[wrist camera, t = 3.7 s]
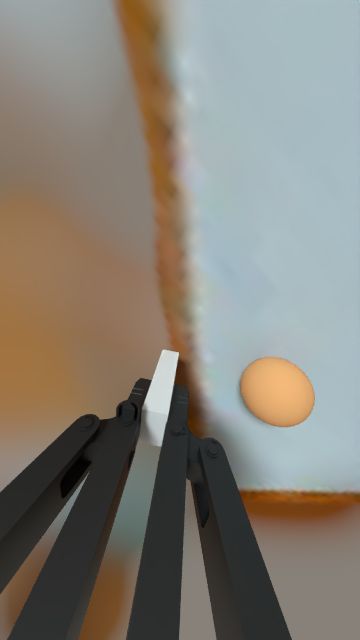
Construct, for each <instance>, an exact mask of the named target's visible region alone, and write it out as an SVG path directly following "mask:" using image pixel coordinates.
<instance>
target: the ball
mask: <svg viewBox="0 0 360 640" xmlns="http://www.w3.org/2000/svg"><path fill="white" fill-rule="evenodd" d="M240 387H241V394H242V397H243V400H244V402H245V404H246V405H247V407H248V408H249V410H250V411H251V412H252V413H253V414H254V415H255V416H256V417H257V418H259V419H260V420H262V421H263V422H265V423H268V424H270V425H273V426H278V427H291V426H295V425H298V424H300V423H302V422H303V421H304V420H306V419H307V417H308V416H309V415H310V414H311V412H312V409H313V406H314V400H315V397H314V390H313V387H312V384H311V382H310V380H309V379H308V377H307V376H306V374H305V373H304V372H303V371H302V370H301V369H300V368H299V367H297V366H296V365H295V364H293V363H291V362H289V361H287V360H285V359H281V358H277V357H265V358H260V359H258V360H255V361H254V362H252V363H251V364H250V365H249V366H248V367H247V368H246V369H245V371H244V372H243V375H242V377H241V383H240Z"/></svg>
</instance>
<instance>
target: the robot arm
mask: <svg viewBox="0 0 360 640" xmlns="http://www.w3.org/2000/svg"><path fill="white" fill-rule="evenodd" d="M178 356H179V353H178V352H173V351H168V350H163V351H162V354H161V356H160V359H159V362H158V365H157V368H156V371H155V373H154V376H153V380H148V379H143V378H140V379H139V380H138V381H137V382H136V383H135V385H134V387H133V389H132V392H131V394H130V396H129V398H128V400H126V401H123V402H121V403H119V405H118V406H117V409H116V417H114V418H111V419H103V420H99V418H98V417H97V416H96V415H93V414H87V415H84V416H81V417H80V418H78V419H77V420H76V421H75V422H74V423H73V424H72V425H71V426H70V427H68V428H67V429H66V430H65V431H64V432H63V433H62V434H61V435H60V436H59V437H58V438H57V439H56V440H55V441H54V442H53V443H52V444H51V445H49V446H48V447H47V448H46V450H44V451H43V452H42V453H41V454H40V455H39V456H38V457H37V458H36V459H35V460H34V461H33V462H32V463H31V464H30V465H28V467H26V468H25V469H24V470H23V471H22V472H21V473H20V474H19V475H18V476H17V477H16V478H15V479H14V480H13V481H12V482H11V483H10V484H9V485H7V486H6V487H5V488H4V489H3V490H2V491H1V492H0V594H1V593H2V591H3V590H4V588H5V587H6V586H7V584H8V583H9V581H10V580H11V579H12V577H13V576H14V575H15V573H16V572H17V570H18V569H19V568H20V566H21V565H22V564H23V562H24V561H25V559H26V558H27V557H28V555H29V554H30V553H31V551H32V550H33V548H34V547H35V546H36V544H37V543H38V542H39V540H40V539H41V537H42V536H43V535H44V533H45V532H46V531H47V529H48V528H49V526H50V525H51V524H52V522H53V521H54V519H55V518H56V517H57V515H58V514H59V512H60V511H61V510H62V509H63V507H64V506H65V504H66V503H67V501H68V500H69V499H70V497H71V496H72V495H73V493H74V492H75V491H76V489H77V488H78V487H79V485H80V483H81V482H82V481H83V480H84V478H85V477H86V476H87V474H88V473H89V474H88V476H87V478H86V480H85V482H84V484H83V486H82V488H81V490H80V493H79V495H78V497H77V499H76V501H75V503H74V505H73V507H72V509H71V511H70V513H69V515H68V517H67V519H66V521H65V523H64V525H63V527H62V529H61V531H60V533H59V535H58V537H57V539H56V541H55V543H54V546H53V548H52V550H51V552H50V554H49V556H48V558H47V560H46V562H45V564H44V566H43V568H42V570H41V572H40V574H39V576H38V578H37V580H36V582H35V584H34V586H33V588H32V591H31V592H30V595H29V597H28V599H27V601H26V603H25V605H24V607H23V609H22V611H21V613H20V615H19V617H18V619H17V621H16V623H15V625H14V627H13V629H12V631H11V634H10V635H9V637H8V639H7V640H78V638H79V634H80V631H81V628H82V625H83V621H84V618H85V615H86V611H87V608H88V605H89V602H90V598H91V595H92V591H93V589H94V585H95V582H96V579H97V575H98V572H99V569H100V566H101V562H102V559H103V556H104V553H105V549H106V546H107V543H108V540H109V536H110V533H111V530H112V526H113V523H114V519H115V517H116V513H117V510H118V506H119V504H120V500H121V497H122V494H123V490H124V487H125V484H126V480H127V477H128V474H129V471H130V468H131V464H132V461H133V458H134V454H135V449H136V445H137V441H138V442H140V443H145V444H150V445H155V446H159V447H161V452H160V457H159V461H158V467H157V473H156V479H155V484H154V489H153V495H152V500H151V506H150V511H149V516H148V522H147V527H146V534H145V538H144V544H143V549H142V555H141V560H140V566H139V571H138V577H137V582H136V587H135V594H134V598H133V604H132V610H131V615H130V621H129V626H128V631H127V637H126V640H179V625H180V601H181V579H182V558H183V536H184V535H183V534H184V513H185V491H186V489H185V488H186V478H187V479H188V480H190V481H191V487H192V493H193V499H194V505H195V511H196V517H197V523H198V529H199V535H200V541H201V547H202V553H203V559H204V565H205V572H206V578H207V584H208V589H209V596H210V601H211V607H212V614H213V620H214V626H215V632H216V638H217V640H292V639H291V636H290V633H289V631H288V628H287V625H286V622H285V620H284V616H283V614H282V611H281V608H280V606H279V602H278V600H277V597H276V594H275V592H274V588H273V586H272V583H271V580H270V577H269V574H268V572H267V569H266V566H265V563H264V561H263V558H262V555H261V552H260V550H259V546H258V544H257V541H256V538H255V535H254V532H253V530H252V527H251V524H250V522H249V519H248V516H247V513H246V510H245V507H244V505H243V502H242V499H241V496H240V493H239V491H238V488H237V485H236V482H235V479H234V477H233V474H232V471H231V468H230V465H229V463H228V460H227V457H226V454H225V451H224V449H223V447H222V445H221V444H220V443H219V442H218V441H217V440H215V439H213V438H205V439H204V440H202V439H200V438H198V437H196V436H195V435H193V434H192V433H191V431H190V430H189V428H188V425H187V418H188V398H189V392H188V389H187V387H185V386H180V385H175V384H174V379H175V373H176V367H177V362H178ZM89 471H90V472H89Z"/></svg>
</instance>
